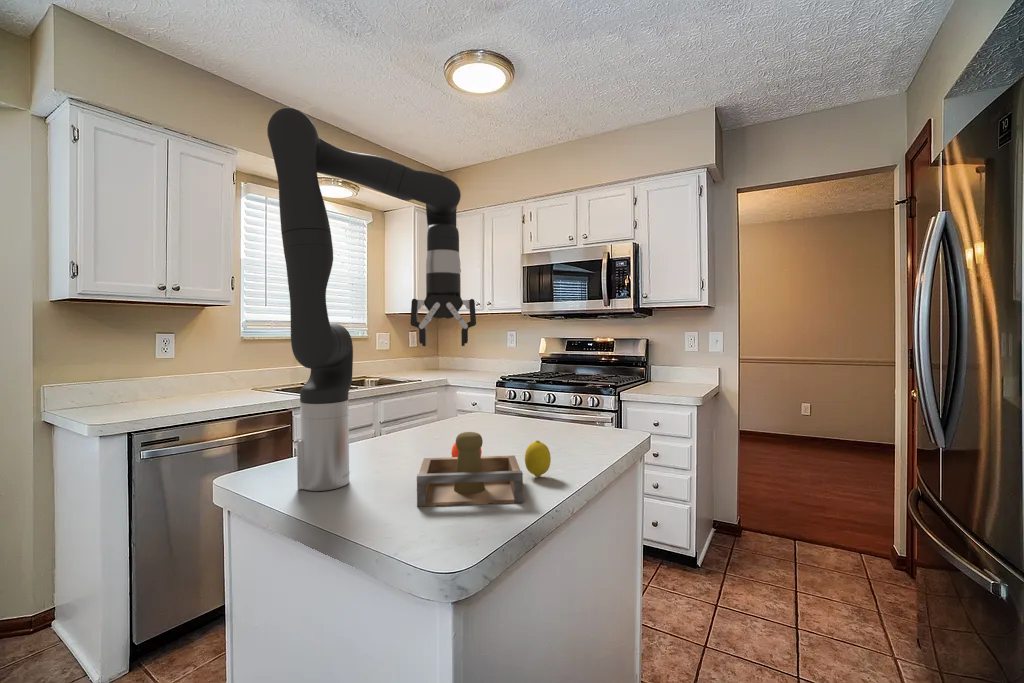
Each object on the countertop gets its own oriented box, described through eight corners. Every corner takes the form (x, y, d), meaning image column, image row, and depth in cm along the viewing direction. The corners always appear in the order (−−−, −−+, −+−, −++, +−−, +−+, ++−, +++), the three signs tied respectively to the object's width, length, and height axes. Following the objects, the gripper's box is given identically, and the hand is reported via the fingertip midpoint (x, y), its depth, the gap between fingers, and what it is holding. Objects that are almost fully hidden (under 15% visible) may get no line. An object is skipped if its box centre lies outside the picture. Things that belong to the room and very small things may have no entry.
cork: (454, 484, 97) (454, 429, 96) (484, 483, 97) (484, 429, 97) (452, 494, 91) (452, 436, 90) (485, 493, 91) (484, 435, 91)
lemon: (550, 474, 106) (550, 437, 105) (550, 481, 100) (550, 443, 100) (525, 473, 106) (525, 437, 106) (523, 481, 101) (523, 443, 100)
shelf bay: (417, 506, 86) (416, 476, 86) (424, 482, 100) (423, 455, 100) (522, 502, 88) (522, 472, 88) (514, 478, 102) (514, 453, 102)
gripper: (408, 270, 102) (409, 346, 102) (476, 270, 103) (476, 346, 104) (412, 274, 109) (413, 346, 110) (475, 275, 111) (475, 345, 111)
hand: (443, 346), depth 107 cm, fingers open, 8 cm apart
